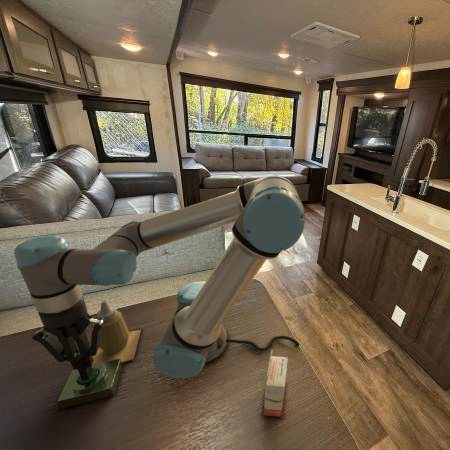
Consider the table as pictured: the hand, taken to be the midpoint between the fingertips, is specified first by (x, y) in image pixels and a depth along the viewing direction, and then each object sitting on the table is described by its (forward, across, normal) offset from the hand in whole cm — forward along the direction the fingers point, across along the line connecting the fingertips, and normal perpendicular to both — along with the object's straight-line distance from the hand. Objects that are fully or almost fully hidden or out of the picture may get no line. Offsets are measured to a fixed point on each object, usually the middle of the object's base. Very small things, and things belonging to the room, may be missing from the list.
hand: (87, 374), depth 64 cm
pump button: (+2, 0, 0) cm, 2 cm away
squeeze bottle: (+6, -2, -13) cm, 14 cm away
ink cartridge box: (+6, -46, +18) cm, 50 cm away
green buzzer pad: (+6, 0, -1) cm, 6 cm away
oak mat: (+6, -2, -12) cm, 14 cm away
